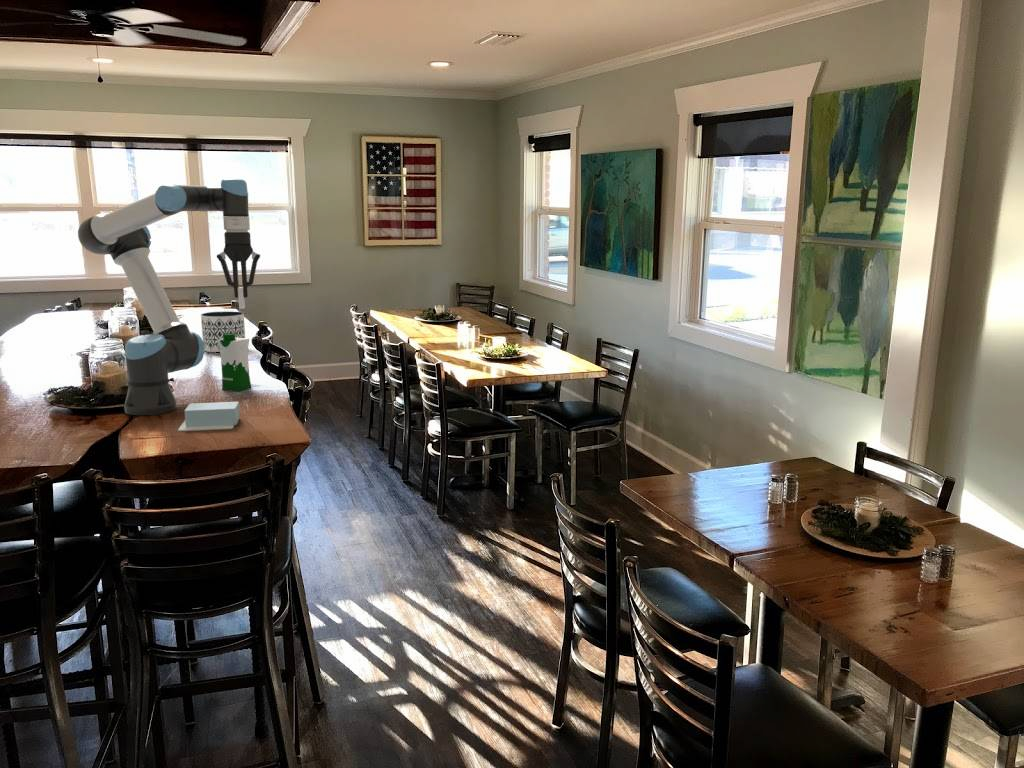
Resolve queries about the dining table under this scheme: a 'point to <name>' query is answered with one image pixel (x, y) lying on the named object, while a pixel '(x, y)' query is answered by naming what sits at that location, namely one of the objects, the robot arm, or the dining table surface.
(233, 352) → the milk carton
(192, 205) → the robot arm
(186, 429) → the mat
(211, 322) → the planter
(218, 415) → the slab
